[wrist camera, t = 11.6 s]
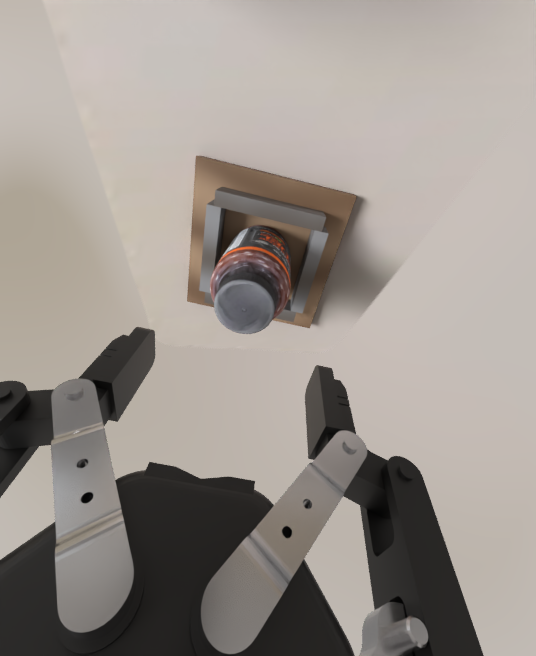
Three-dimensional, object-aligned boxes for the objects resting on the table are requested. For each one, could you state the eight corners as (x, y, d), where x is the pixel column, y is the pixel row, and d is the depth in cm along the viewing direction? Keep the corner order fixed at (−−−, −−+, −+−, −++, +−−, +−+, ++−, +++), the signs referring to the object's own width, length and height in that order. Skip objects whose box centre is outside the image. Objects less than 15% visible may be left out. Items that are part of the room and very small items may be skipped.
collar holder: (199, 155, 24) (186, 156, 21) (354, 194, 25) (363, 201, 22) (190, 296, 32) (179, 312, 29) (308, 322, 33) (310, 340, 29)
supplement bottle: (303, 249, 27) (311, 304, 17) (266, 293, 30) (255, 361, 20) (253, 208, 25) (230, 245, 16) (219, 259, 28) (182, 316, 18)
